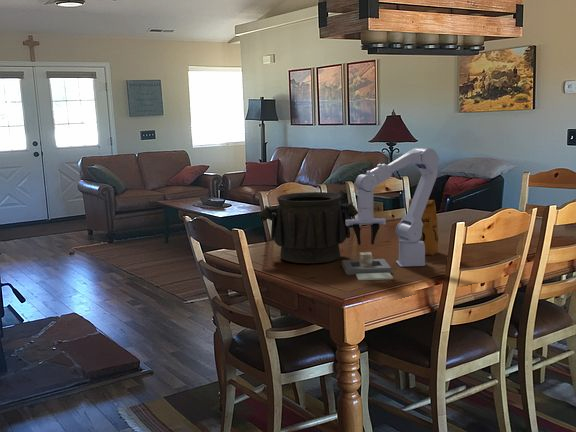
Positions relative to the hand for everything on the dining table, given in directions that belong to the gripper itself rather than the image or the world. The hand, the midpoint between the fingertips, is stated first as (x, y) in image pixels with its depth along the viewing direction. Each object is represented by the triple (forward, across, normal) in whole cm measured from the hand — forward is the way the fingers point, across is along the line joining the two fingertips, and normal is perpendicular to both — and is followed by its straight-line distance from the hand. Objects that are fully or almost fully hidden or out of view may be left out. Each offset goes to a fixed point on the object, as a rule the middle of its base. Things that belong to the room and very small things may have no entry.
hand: (365, 244), depth 233 cm
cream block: (+10, 0, 0) cm, 10 cm away
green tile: (+9, +1, -12) cm, 15 cm away
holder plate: (+9, 0, 0) cm, 9 cm away
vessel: (+10, -19, +21) cm, 30 cm away
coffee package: (+10, +27, +23) cm, 37 cm away
